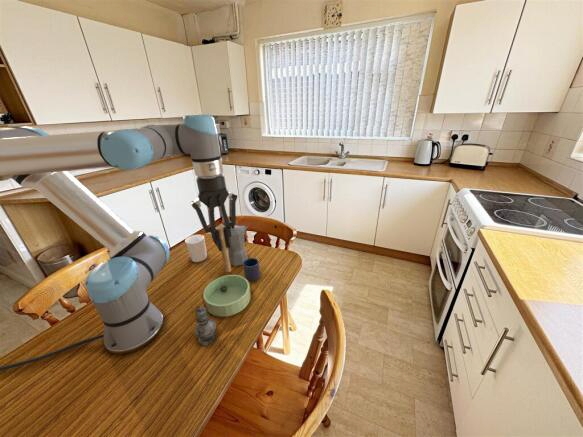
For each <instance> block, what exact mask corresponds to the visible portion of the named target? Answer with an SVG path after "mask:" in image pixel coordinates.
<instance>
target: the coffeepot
mask: <svg viewBox="0 0 583 437" xmlns="http://www.w3.org/2000/svg"><path fill="white" fill-rule="evenodd" d="M248 228H249V227H248V226H247V225H236V224H235V225H234V226H231V229H230V230H231V237H229V243H230V248H229V249H228V248H227V249H228V255H229V260H230V265H231V266H233V267H237V266H243V262H244V261H245V260H246V259H249V256H248V254H247V250H246V247H245V235H246V234H245V233H246V231H247V229H248ZM213 243H214V244H215V245H216V247H217V242H214V241H213Z"/></svg>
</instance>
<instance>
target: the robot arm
mask: <svg viewBox="0 0 583 437" xmlns="http://www.w3.org/2000/svg"><path fill="white" fill-rule="evenodd" d="M181 155H190V158H191V162H192V168H193V172H194V175H195V176H196V178H195V181H196V185H197V189H198V195H197V198H196V199H195V200H192V201H190V205H191V207H192V208H193V209H194V210H195V212H196V214H197V217H198V219H199V222H200V224H201V226H202V229H203V231H204V232H205V233H206V234H209V233H210V236H211V239H212V241H213V243H214V242H217V246H216V247H217V250H218V251H219V252H221V251H222V247H221V242H220V237H219V232H218V231H217V227H216V219H215V218H216V217H215V208H219V212H220V215H221V218H222V222H223V225H224V226H222V227H223V228H224V233H225V238H226V244H227V249H229V248H230V243H229V237H231V230H230V229H231V226H236V224H237V223H236V222H237V218H236V217H237V216H236V214H237V213H236V212H237V211H236V210H237V209H236V206H237V205H236V202H237V200H238V195H237V194H236V193H235V192H230V191H229V189H228V188H227V184H226V178H225V174H224V167H223V161H222V155H221V150H220V143H219V133H218V130H217V126H216V122H215V118H214V116H212V115H211V114H209V113H206V114H203V113H202V114H188V115H183V117H182V123H177V124H147V125H141V126H139V127H135V128H125V129H115V130H114V129H112V130H102V131H101V130H100V131H88V132H86V131H85V132H73V133H62V134H61V133H60V134H49V133H48V132H46V131H44V130H42V129H39V128H35V127H30V126H7V127H2V128H0V182H4V181H8V180H10V179H11V180H13V181H14V182H16V183H17V184H18V185H19V186H21V187H22V188H24V189H33V190H36V191H37V192H38V193H39V194H41V195H42V196H43V197H44V198H46V199H47V200H48V202H51V203H52V205H53V206H55V207H56V208H58V209H59V210H60V211H61V212H63V214H64V215H66V216H67V217H68V218H69V219H71V220H72V221H73V222H74V223H76V225H78V226H79V227H80V228H81V229H83V230H84V231H85V232H86V233H88V234H89V235H90V236H91V237H93V239H95V240H96V241H97V242H99V243H100V244H101V245H102V246H103V247H105V248H106V249H107V250H108V251H109V254H108V255H109V259H107V260H106V261H105V262H101V263H99V264H98V265H96V266H95V267H94V268H92V269H91V270H90V272H88V274H87V276H86V277H85V281H84V287H85V289H86V293H87V296H88V298H89V300H90V302H92V305H93V306H94V308H95V310H96V312H97V314H98V315H99V318H100V320H101V322H102V324H103V333H102V334H99V335H95V336H92V337H89V338H86V339H83V340H80V341H78V342H75V343H71V344H70V345H67V346H64V347H63V348H61V349H57V350H54V351H52V352H49V353H46V354H43V355H40V356H37V357H34V358H33V357H32V358H30V359H26V360H22V361H19V362H16V363H15V362H14V363H10V364H7V365H3V366H0V371H4V370H9V369H12V368H17V367H20V366H24V365H27V364H31V363H35V362H37V361H41V360H44V359H46V358H49V357H53V356H55V355H58V354H60V353H63V352H66V351H68V350H70V349H73V348H76V347H78V346H80V345H81V346H82V345H83V344H86V343H88V342H89V343H90V342H93V341H96V340H98V339H102V338H103V345H104V346H105V348H106V350H107V351H108V352H109V353H111V354H113V355H127V354H131V353H134V352H137V351H139V350H141V349H142V348H144V347H145V346H147V345H149V344H150V343H151V342H152V341H154V340H155V339H156V338H157V337H158V336H159V334H160V333H161V331H162V330H163V327H164V324H165V319H164V316H163V312H161V311H160V309H159V308H158V307H156V305H154V304H153V303H152V302H151V301H150V299H149V296H148V293H147V289H148V288H149V287H150V285H151V284H152V283H153V281H154V280H155V279H156V277H158V275H159V274H160V273H161V271H163V269H164V268H165V267H166V265H167V263H168V262H169V259H170V254H171V253H170V252H171V250H170V248H169V246H168V244H167V242H165V240H163V239H162V238H161V237H159V236H157V235H155V236H154V235H153V234H149V235H147V234H146V233H145V232H144V231H142V230H140V231H137V230H134V229H133V228H132V227H130V225H128V224H127V222H125V221H124V220H123V219H122V218H121V217H119V216H118V215H117V214H116V213H115V212H114V211H113V210H112V209H111V208H110V207H108V205H106V204H105V203H104V202H103V201H102V200H101V199H100V198H99V197H98V196H96V195H95V194H94V193H93V192H92V191H91V190H90V189H89V188H88V187H86V186H85V185H84V184H83V182H81V181H80V180H79V179H77V177H75V176H74V175H73V174H72V173H71V172H75V171H87V170H101V169H115V168H116V169H118V170H121V171H133V170H137V169H142V168H144V167H146V166H147V165H150V164H152V163H154V162H157V161H159V160H162V159H164V158H167V157H169V156H181ZM227 199H228V203H229V204H228V209H229V210H228V211H229V215H228V213H227V209H226V205H225V203H226V201H227ZM201 203H202V204H203V205H205V206H206V207H207V215H208V223H207V221H206V218H205V216H204V213H203V210H202V209H201V207H202V204H201ZM228 216H229V217H228ZM208 224H209V225H208Z"/></svg>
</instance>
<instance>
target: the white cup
mask: <svg viewBox="0 0 583 437" xmlns="http://www.w3.org/2000/svg"><path fill="white" fill-rule="evenodd" d="M184 242H185V245H186V249H187V252H188V256H189V257H190V260H191V262H194V263H201V262H203V261H205V260H206V259H207V258H208V252H207V244H206V240H205V236H204V235H203V234H193V235H189V236H187V237H186V239H185V240H184Z"/></svg>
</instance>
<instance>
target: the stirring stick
mask: <svg viewBox="0 0 583 437" xmlns="http://www.w3.org/2000/svg"><path fill="white" fill-rule="evenodd" d="M223 227H224V226H218V227H216V229H217V231H218V232H219V237H220V242H221V247H222V251H220V252H221V256H222V262H223V266H224V271H225V273H230V272H231V271H232V265H230V260H229V255H228V248H227V244H226V238H225V233H224V228H223Z"/></svg>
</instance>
